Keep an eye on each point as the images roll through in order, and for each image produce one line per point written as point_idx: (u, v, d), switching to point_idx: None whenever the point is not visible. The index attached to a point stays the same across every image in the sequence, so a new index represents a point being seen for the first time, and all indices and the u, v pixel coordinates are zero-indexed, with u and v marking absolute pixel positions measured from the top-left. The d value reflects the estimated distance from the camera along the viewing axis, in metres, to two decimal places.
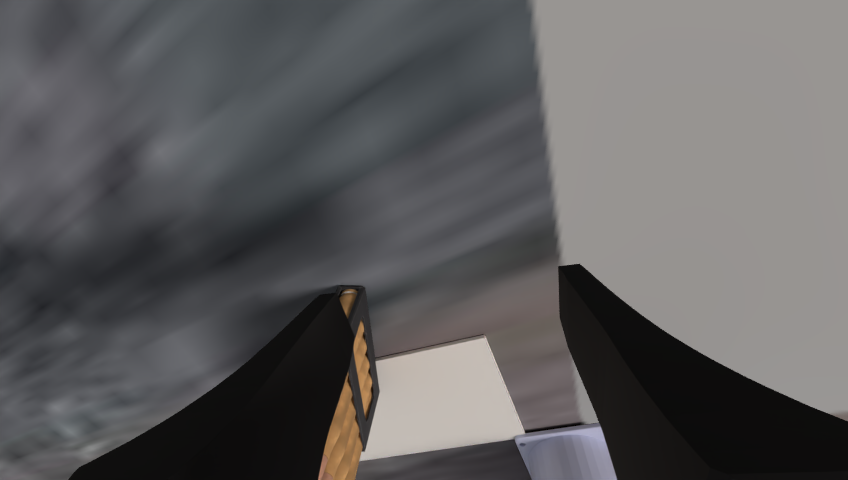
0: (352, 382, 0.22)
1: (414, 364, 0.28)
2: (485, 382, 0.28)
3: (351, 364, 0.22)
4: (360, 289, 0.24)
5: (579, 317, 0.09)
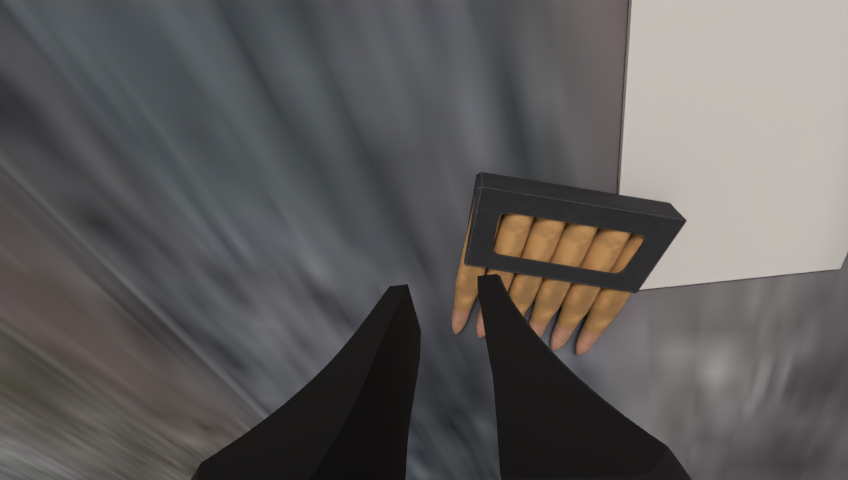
0: (520, 273, 0.21)
1: (651, 90, 0.17)
2: None
3: (502, 265, 0.21)
4: (476, 192, 0.19)
5: (484, 326, 0.10)
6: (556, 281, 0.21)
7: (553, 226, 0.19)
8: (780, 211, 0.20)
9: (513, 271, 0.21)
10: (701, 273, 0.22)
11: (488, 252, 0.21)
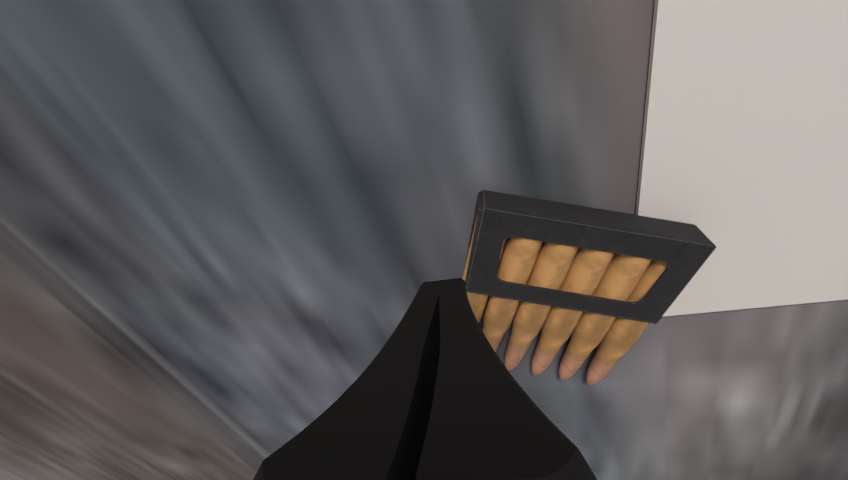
0: (527, 301, 0.19)
1: (678, 100, 0.15)
2: None
3: (506, 293, 0.19)
4: (477, 213, 0.17)
5: None
6: (566, 310, 0.19)
7: (564, 251, 0.17)
8: (819, 234, 0.18)
9: (519, 299, 0.19)
10: (727, 300, 0.20)
11: (491, 278, 0.18)
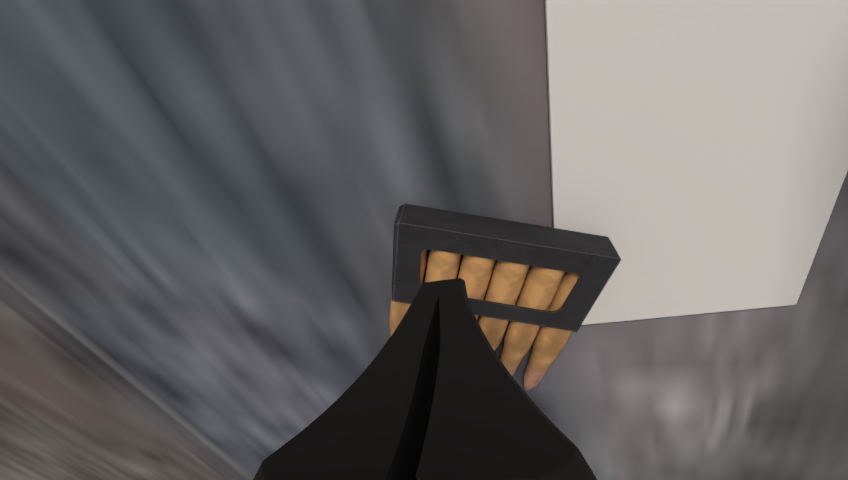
0: None
1: (577, 119, 0.16)
2: None
3: None
4: (394, 227, 0.17)
5: None
6: (491, 318, 0.20)
7: (480, 263, 0.18)
8: (727, 245, 0.18)
9: None
10: (649, 308, 0.21)
11: (415, 288, 0.19)
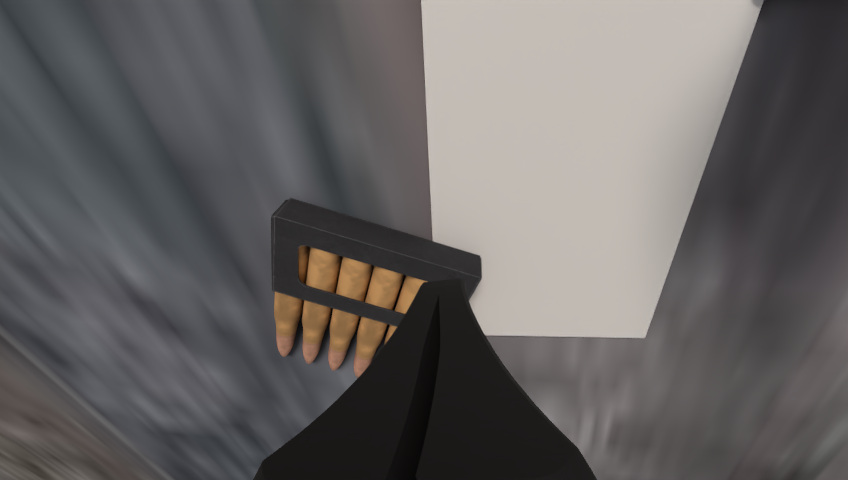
0: (330, 306, 0.20)
1: (452, 143, 0.17)
2: (540, 23, 0.14)
3: (310, 297, 0.20)
4: (271, 220, 0.18)
5: None
6: (368, 319, 0.21)
7: (354, 265, 0.19)
8: (586, 277, 0.20)
9: (322, 304, 0.20)
10: (519, 326, 0.22)
11: (294, 282, 0.20)
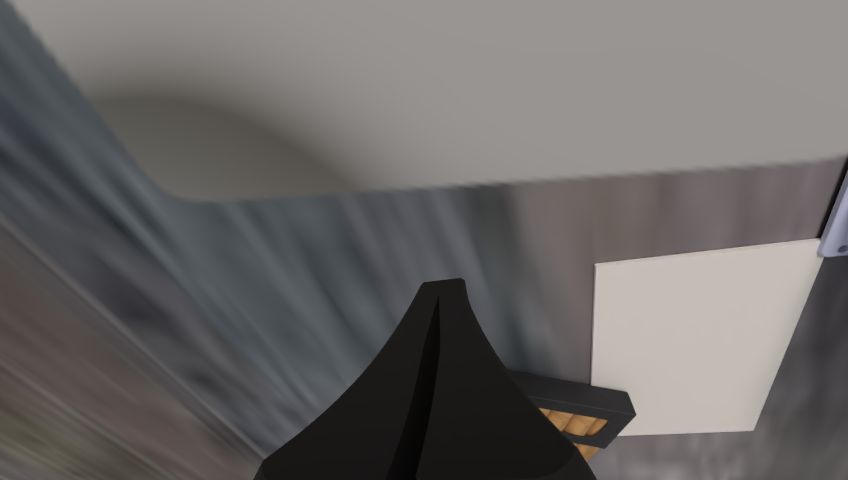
0: None
1: (610, 333, 0.25)
2: (674, 275, 0.22)
3: None
4: None
5: None
6: None
7: (543, 411, 0.27)
8: (706, 398, 0.28)
9: None
10: (653, 429, 0.30)
11: None
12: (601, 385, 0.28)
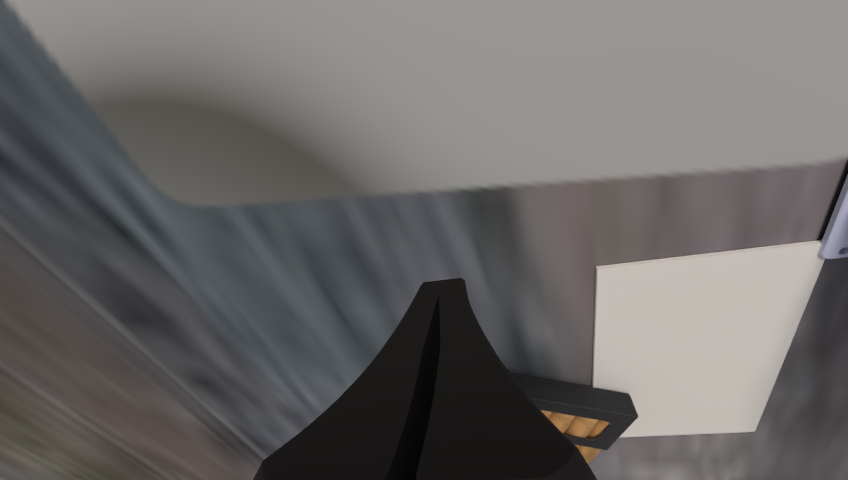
0: None
1: (612, 335, 0.25)
2: (675, 277, 0.22)
3: None
4: None
5: None
6: None
7: (545, 413, 0.27)
8: (707, 399, 0.28)
9: None
10: (655, 430, 0.30)
11: None
12: (603, 387, 0.28)
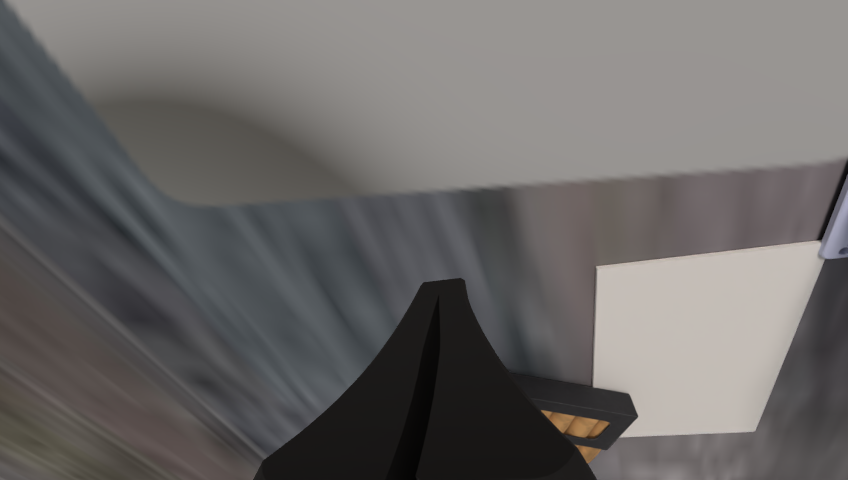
0: None
1: (612, 335, 0.25)
2: (675, 277, 0.22)
3: None
4: None
5: None
6: None
7: (545, 413, 0.27)
8: (707, 399, 0.28)
9: None
10: (655, 430, 0.30)
11: None
12: (603, 387, 0.28)
